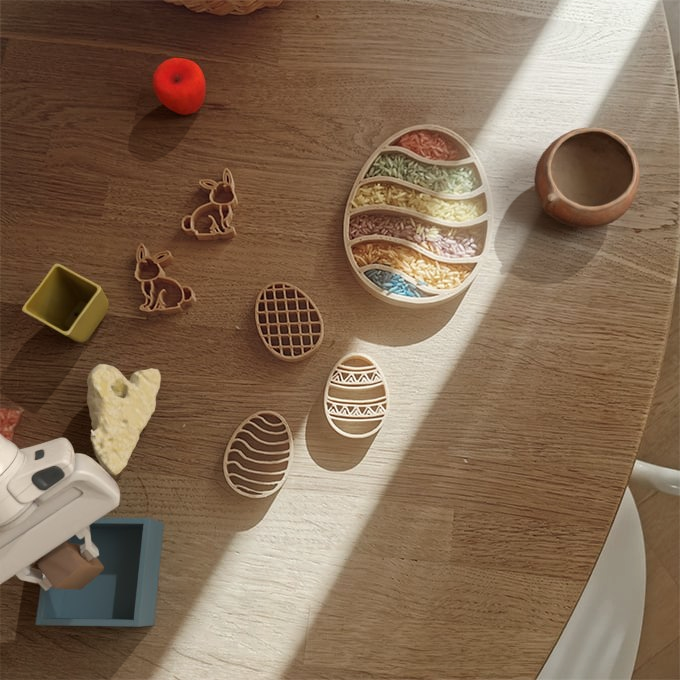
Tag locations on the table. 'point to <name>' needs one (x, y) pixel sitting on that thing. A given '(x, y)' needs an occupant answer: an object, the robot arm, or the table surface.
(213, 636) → the table surface
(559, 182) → the bowl
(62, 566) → the wooden block
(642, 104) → the table surface
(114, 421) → the cheese
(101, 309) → the flower pot
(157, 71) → the apple
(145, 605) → the tub
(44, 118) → the table surface
